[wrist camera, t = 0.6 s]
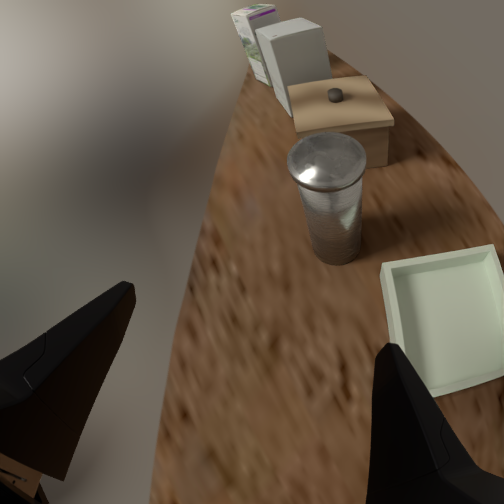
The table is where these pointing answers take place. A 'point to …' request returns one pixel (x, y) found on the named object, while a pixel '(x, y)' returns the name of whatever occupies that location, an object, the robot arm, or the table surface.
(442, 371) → the tray
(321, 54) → the supplement box
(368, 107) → the lidded bin
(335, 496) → the table surface
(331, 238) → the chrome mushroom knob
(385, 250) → the table surface
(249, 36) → the syrup box
